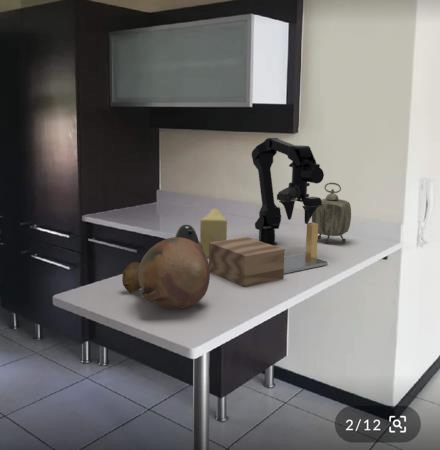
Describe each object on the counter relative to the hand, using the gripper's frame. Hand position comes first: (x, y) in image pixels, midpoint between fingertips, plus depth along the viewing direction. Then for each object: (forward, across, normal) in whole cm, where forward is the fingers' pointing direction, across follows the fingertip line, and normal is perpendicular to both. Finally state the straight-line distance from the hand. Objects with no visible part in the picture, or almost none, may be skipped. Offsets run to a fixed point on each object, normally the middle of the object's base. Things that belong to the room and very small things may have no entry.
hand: (297, 221), depth 210 cm
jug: (+13, +17, -68) cm, 71 cm away
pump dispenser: (+13, -8, -44) cm, 47 cm away
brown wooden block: (+13, +10, -32) cm, 36 cm away
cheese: (+13, -22, -23) cm, 34 cm away
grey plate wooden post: (+13, +10, -13) cm, 21 cm away
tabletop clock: (+13, -8, +26) cm, 30 cm away
